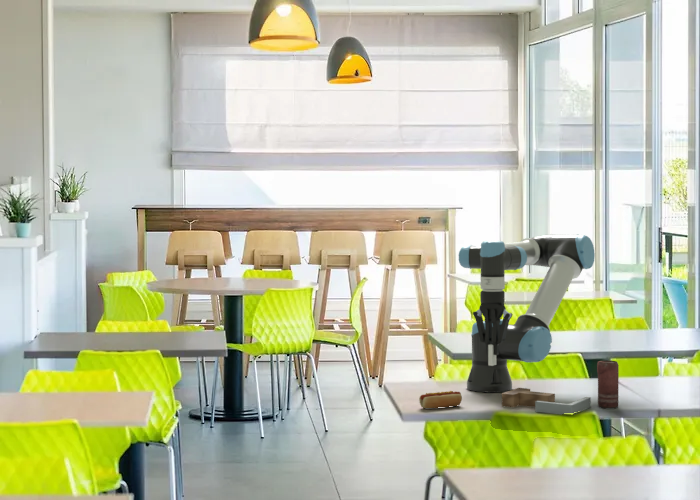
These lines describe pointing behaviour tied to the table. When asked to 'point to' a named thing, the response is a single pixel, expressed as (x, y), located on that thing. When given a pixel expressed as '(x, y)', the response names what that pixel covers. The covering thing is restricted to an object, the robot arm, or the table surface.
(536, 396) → the t block
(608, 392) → the can
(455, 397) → the food
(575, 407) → the bracket
